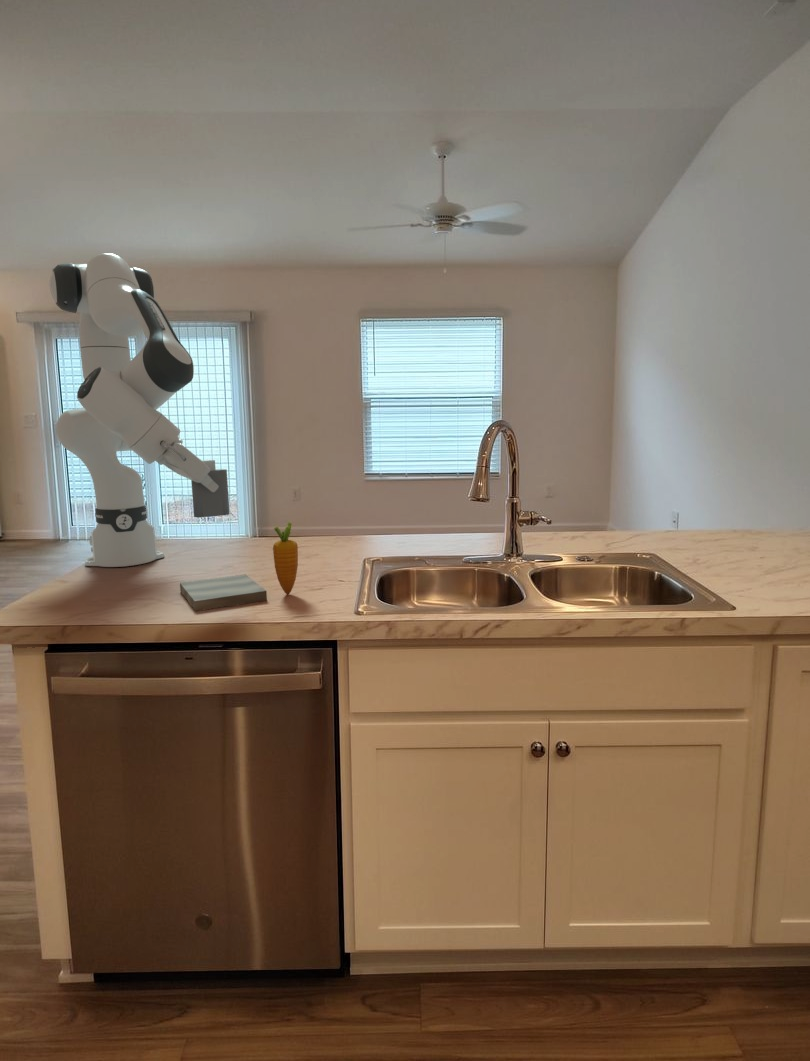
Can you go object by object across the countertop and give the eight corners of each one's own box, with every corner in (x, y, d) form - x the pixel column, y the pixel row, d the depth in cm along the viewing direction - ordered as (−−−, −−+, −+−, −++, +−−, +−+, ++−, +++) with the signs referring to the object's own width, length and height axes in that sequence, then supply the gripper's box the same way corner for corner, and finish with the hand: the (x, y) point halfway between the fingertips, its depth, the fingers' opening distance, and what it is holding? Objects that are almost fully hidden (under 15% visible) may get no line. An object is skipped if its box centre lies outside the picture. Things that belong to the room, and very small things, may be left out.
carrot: (276, 598, 135) (272, 525, 133) (274, 592, 140) (270, 521, 137) (301, 596, 137) (298, 524, 134) (298, 590, 141) (294, 520, 139)
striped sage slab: (180, 591, 142) (179, 582, 141) (246, 582, 148) (245, 574, 148) (195, 611, 128) (194, 601, 128) (266, 600, 134) (266, 590, 134)
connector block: (195, 517, 132) (191, 461, 130) (192, 515, 134) (188, 460, 132) (231, 514, 135) (227, 460, 133) (227, 512, 138) (224, 459, 136)
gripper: (178, 430, 119) (236, 481, 126) (160, 427, 137) (212, 472, 143) (154, 456, 118) (214, 506, 124) (139, 450, 136) (192, 495, 142)
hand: (213, 488), depth 134 cm, fingers closed on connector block, 3 cm apart
